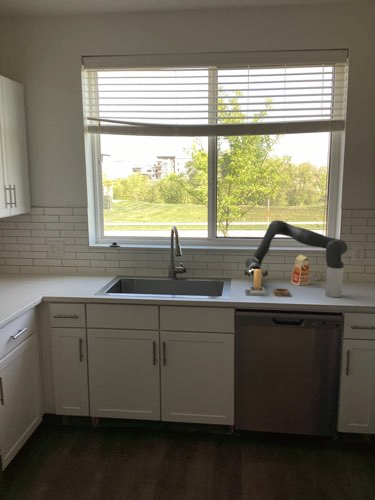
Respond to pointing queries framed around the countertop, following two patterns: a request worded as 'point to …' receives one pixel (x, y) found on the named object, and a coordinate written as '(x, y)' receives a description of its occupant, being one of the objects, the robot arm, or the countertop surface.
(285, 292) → the holder
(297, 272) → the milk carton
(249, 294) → the hub
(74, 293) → the countertop surface
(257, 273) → the peg
